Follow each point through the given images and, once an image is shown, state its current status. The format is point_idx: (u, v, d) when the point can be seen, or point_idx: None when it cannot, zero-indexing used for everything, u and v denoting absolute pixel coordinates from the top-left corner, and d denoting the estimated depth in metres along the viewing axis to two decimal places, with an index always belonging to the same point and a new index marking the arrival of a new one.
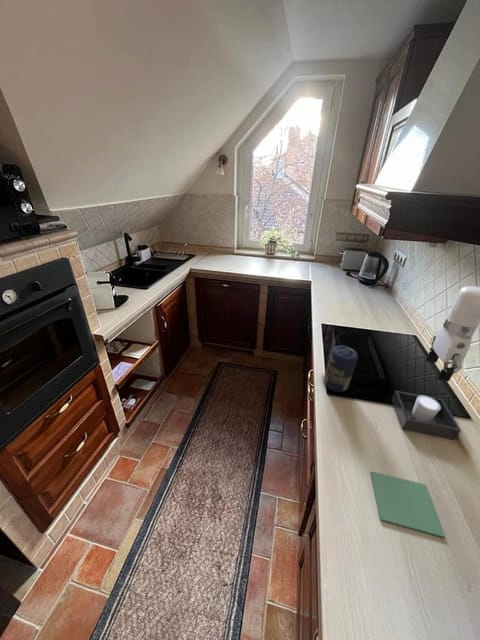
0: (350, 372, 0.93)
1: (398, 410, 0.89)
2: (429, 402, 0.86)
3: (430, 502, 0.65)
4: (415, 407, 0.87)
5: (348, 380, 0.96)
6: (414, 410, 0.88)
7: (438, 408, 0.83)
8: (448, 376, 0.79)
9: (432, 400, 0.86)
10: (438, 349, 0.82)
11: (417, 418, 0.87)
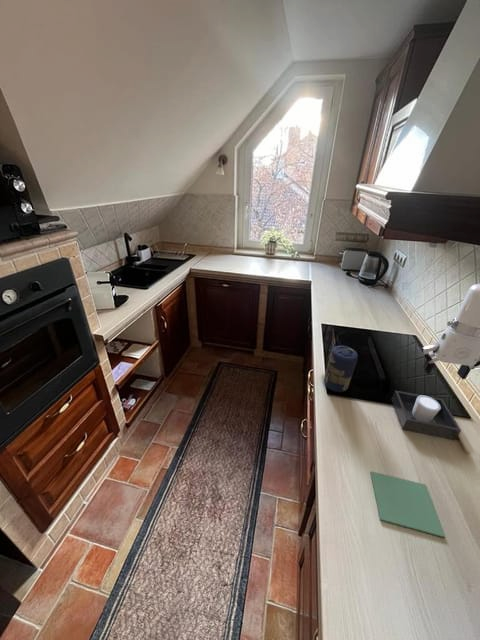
0: (350, 372, 0.93)
1: (398, 410, 0.89)
2: (429, 402, 0.86)
3: (430, 502, 0.65)
4: (415, 407, 0.87)
5: (348, 380, 0.96)
6: (414, 410, 0.88)
7: (438, 408, 0.83)
8: (426, 365, 0.80)
9: (432, 400, 0.86)
10: None
11: (417, 418, 0.87)
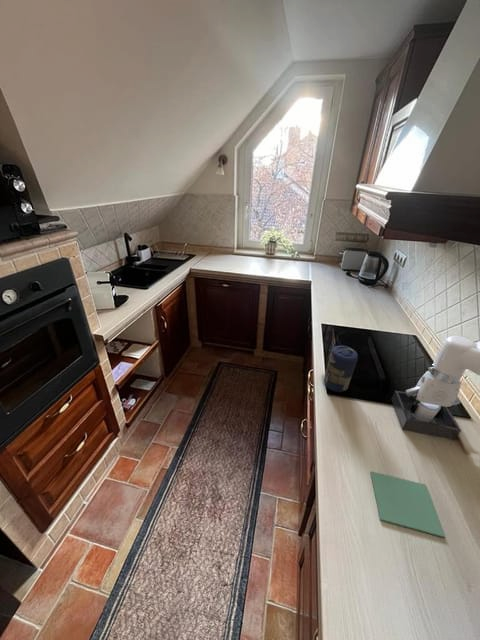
0: (350, 372, 0.93)
1: (398, 410, 0.89)
2: None
3: (430, 502, 0.65)
4: None
5: (348, 380, 0.96)
6: None
7: (438, 408, 0.83)
8: (410, 405, 0.87)
9: None
10: None
11: (417, 418, 0.87)
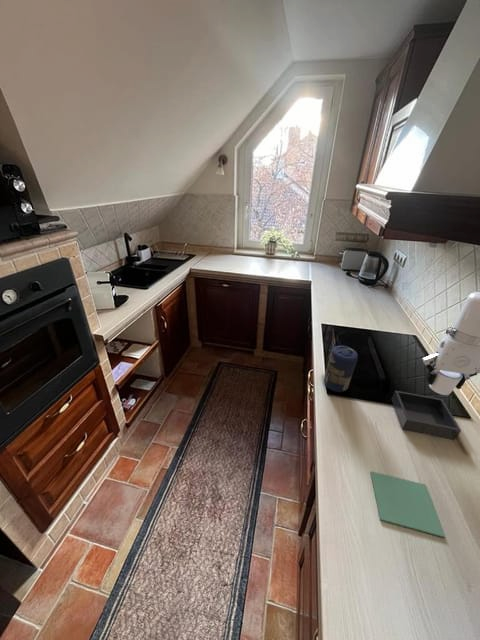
0: (350, 372, 0.93)
1: (398, 410, 0.89)
2: None
3: (430, 502, 0.65)
4: None
5: (348, 380, 0.96)
6: None
7: (459, 377, 0.75)
8: (428, 375, 0.79)
9: None
10: None
11: (436, 390, 0.79)
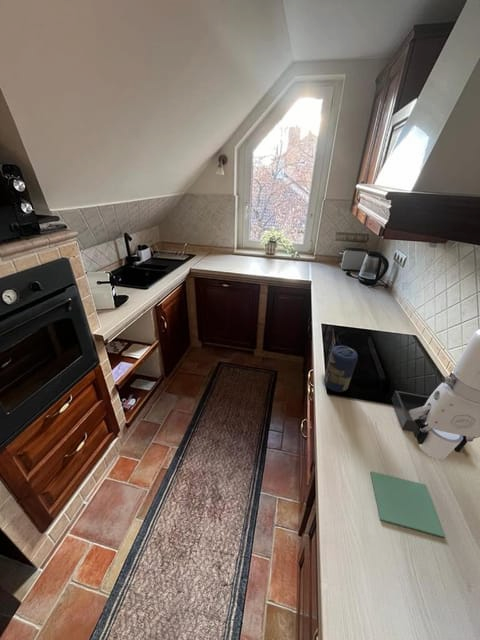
0: (350, 372, 0.93)
1: (398, 410, 0.89)
2: None
3: (430, 502, 0.65)
4: None
5: (348, 380, 0.96)
6: None
7: (459, 438, 0.55)
8: (417, 432, 0.59)
9: None
10: None
11: (427, 451, 0.59)
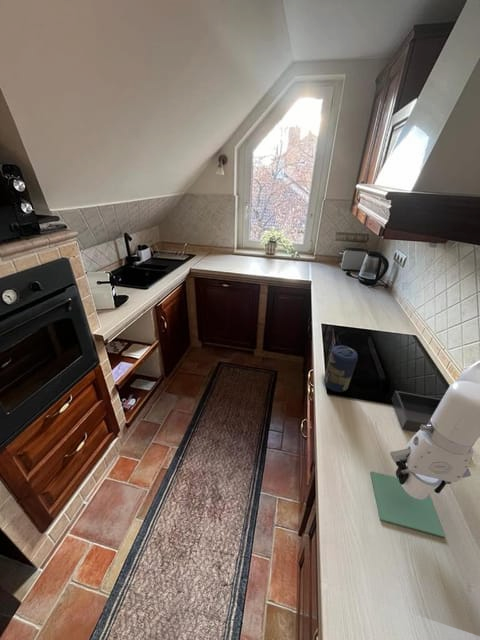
0: (350, 372, 0.93)
1: (398, 410, 0.89)
2: None
3: (430, 502, 0.65)
4: None
5: (348, 380, 0.96)
6: None
7: (438, 481, 0.57)
8: (399, 473, 0.61)
9: None
10: None
11: (408, 491, 0.61)
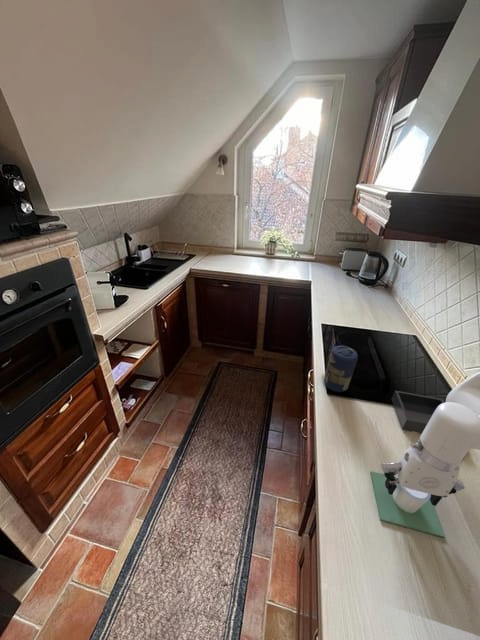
0: (350, 372, 0.93)
1: (398, 410, 0.89)
2: None
3: (430, 502, 0.65)
4: (396, 489, 0.64)
5: (348, 380, 0.96)
6: (395, 493, 0.65)
7: (427, 496, 0.60)
8: (387, 483, 0.63)
9: None
10: None
11: (399, 505, 0.64)
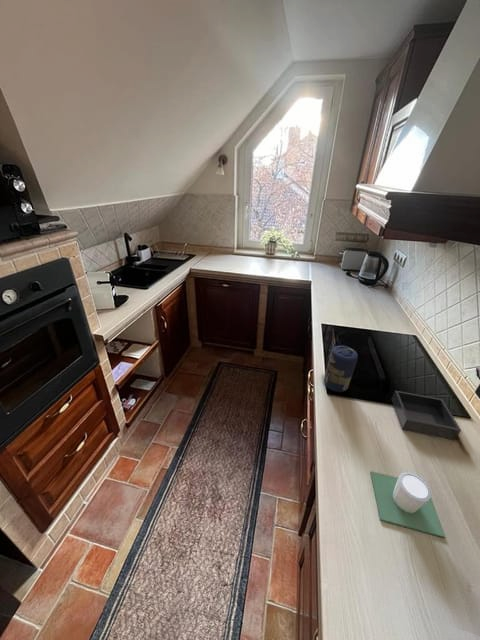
0: (350, 372, 0.93)
1: (398, 410, 0.89)
2: (415, 485, 0.62)
3: (430, 502, 0.65)
4: (396, 489, 0.64)
5: (348, 380, 0.96)
6: (395, 493, 0.65)
7: (427, 496, 0.60)
8: None
9: (419, 481, 0.63)
10: None
11: (399, 505, 0.64)
